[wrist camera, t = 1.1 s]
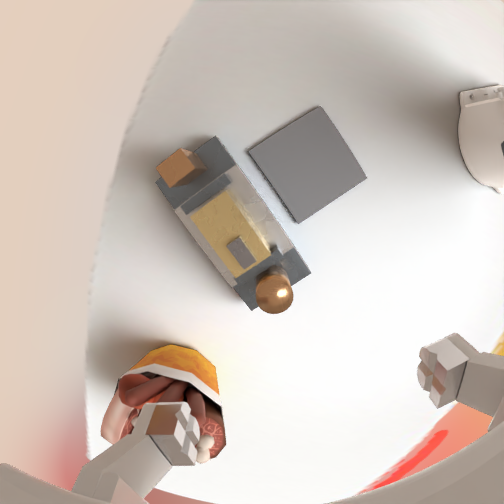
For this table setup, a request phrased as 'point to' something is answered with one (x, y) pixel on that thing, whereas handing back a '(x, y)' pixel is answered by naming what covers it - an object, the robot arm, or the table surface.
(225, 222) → the tan rectangular block
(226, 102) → the table surface
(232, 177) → the hand plane
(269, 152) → the mat
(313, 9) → the table surface
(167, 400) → the fried chicken
